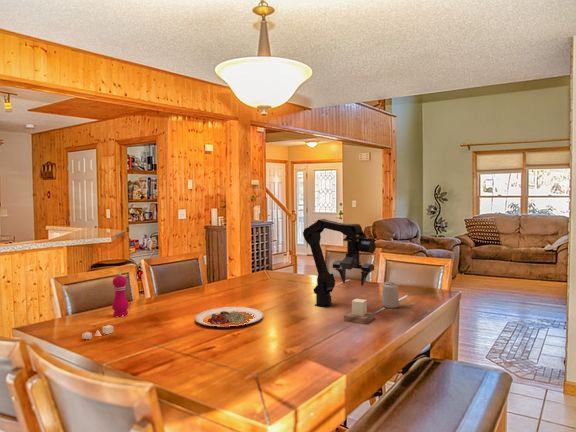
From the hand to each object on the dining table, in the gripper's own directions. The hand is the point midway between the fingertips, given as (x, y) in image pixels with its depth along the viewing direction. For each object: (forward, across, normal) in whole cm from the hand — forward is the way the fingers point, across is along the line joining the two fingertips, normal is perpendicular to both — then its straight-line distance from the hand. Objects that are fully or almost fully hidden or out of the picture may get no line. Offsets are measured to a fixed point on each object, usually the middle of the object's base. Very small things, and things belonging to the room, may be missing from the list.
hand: (353, 284), depth 210 cm
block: (+10, +8, -11) cm, 17 cm away
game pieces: (+14, -72, -84) cm, 111 cm away
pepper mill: (+15, -90, -60) cm, 109 cm away
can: (+13, +13, +16) cm, 24 cm away
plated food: (+14, -42, -39) cm, 59 cm away
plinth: (+13, +8, -11) cm, 19 cm away
